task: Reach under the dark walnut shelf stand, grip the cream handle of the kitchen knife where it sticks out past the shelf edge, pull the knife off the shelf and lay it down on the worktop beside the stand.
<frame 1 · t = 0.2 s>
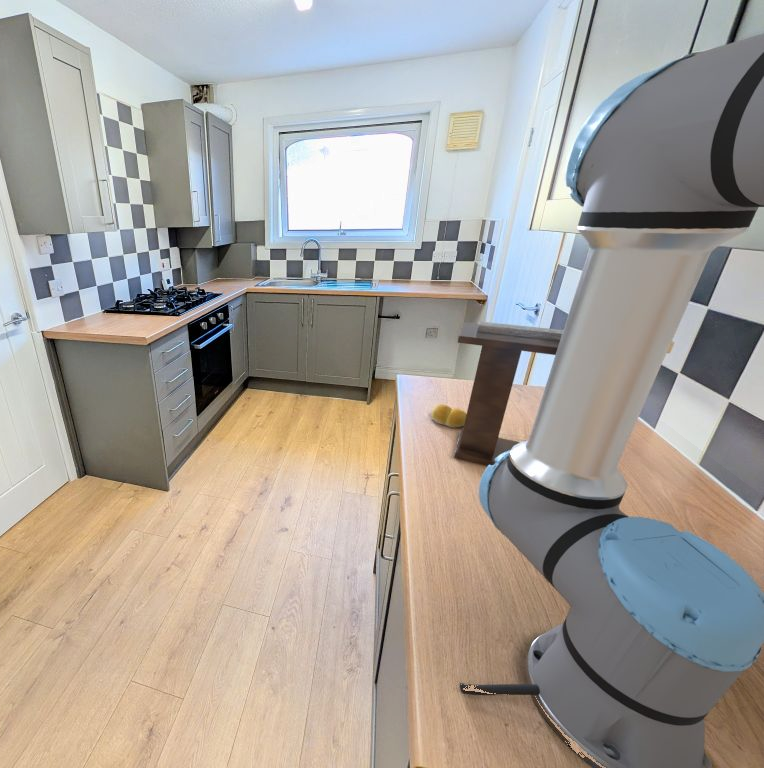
kitchen knife: (589, 342, 74), point 29 cm above the countertop, touching shelf stand
bread roll: (447, 421, 106), on the countertop
shelf stand: (489, 453, 92), on the countertop
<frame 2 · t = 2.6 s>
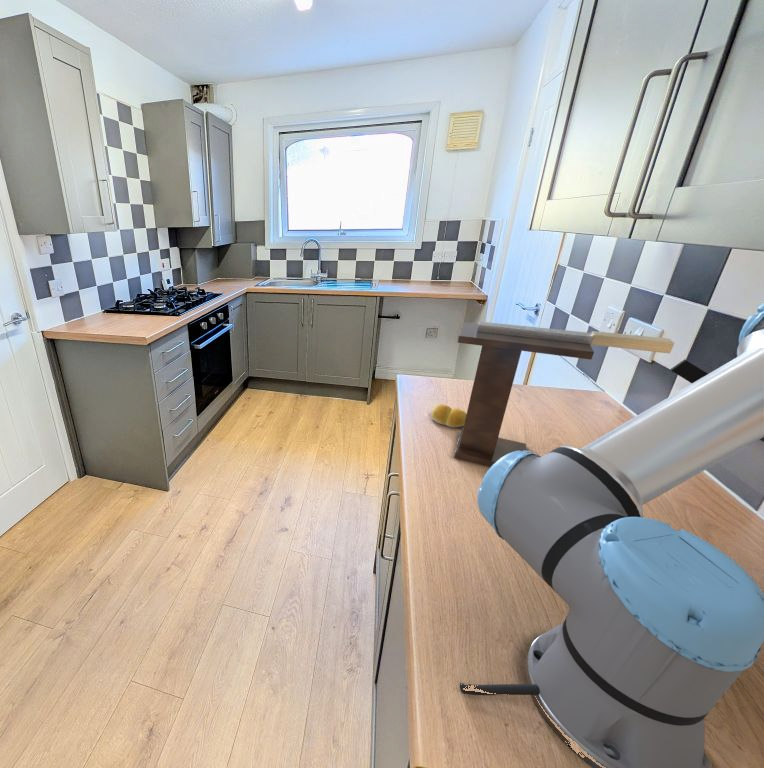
hand: (690, 377, 69), 25 cm above the countertop, tool pointing upward, fingers open, 13 cm apart
nothing on the countertop moved.
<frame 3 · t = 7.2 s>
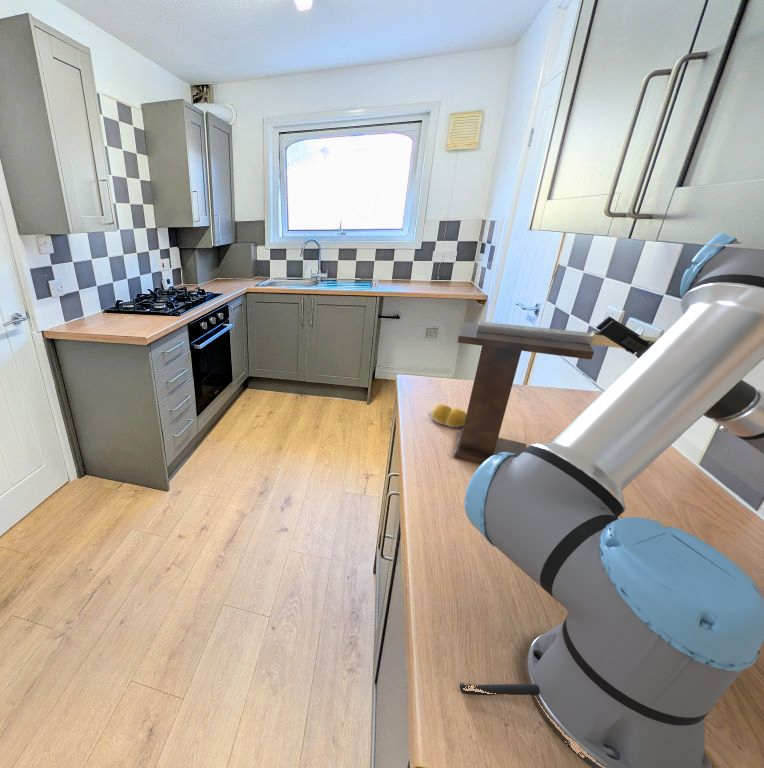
hand: (604, 324, 72), 33 cm above the countertop, tool pointing upward, fingers closed on kitchen knife, 3 cm apart
kitchen knife: (589, 342, 74), point 29 cm above the countertop, touching gripper, shelf stand
everything else where it was.
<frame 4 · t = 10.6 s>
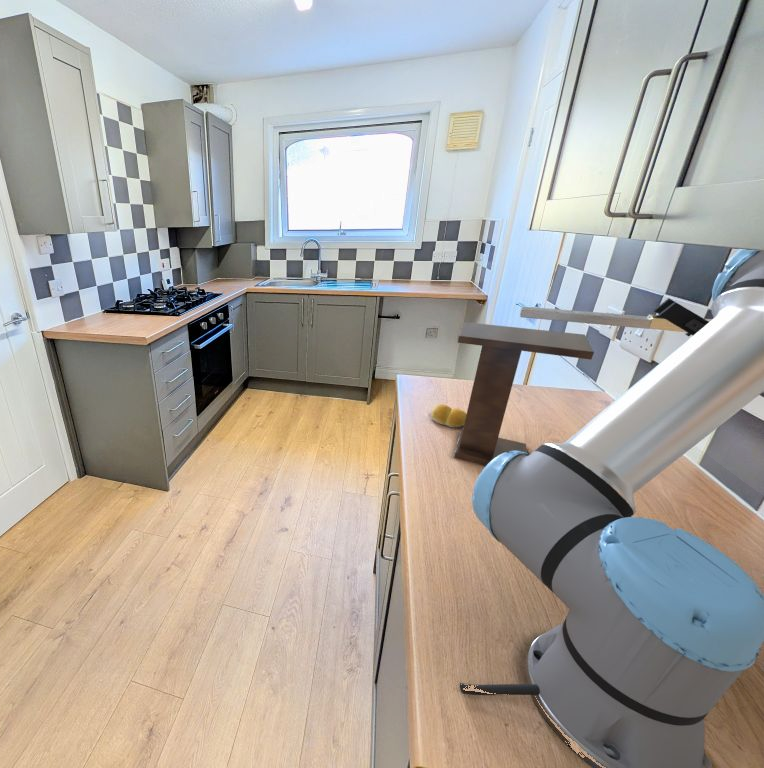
hand: (664, 306, 67), 37 cm above the countertop, tool pointing upward, fingers closed on kitchen knife, 3 cm apart
kitchen knife: (646, 326, 69), point 33 cm above the countertop, touching gripper
everything else where it was.
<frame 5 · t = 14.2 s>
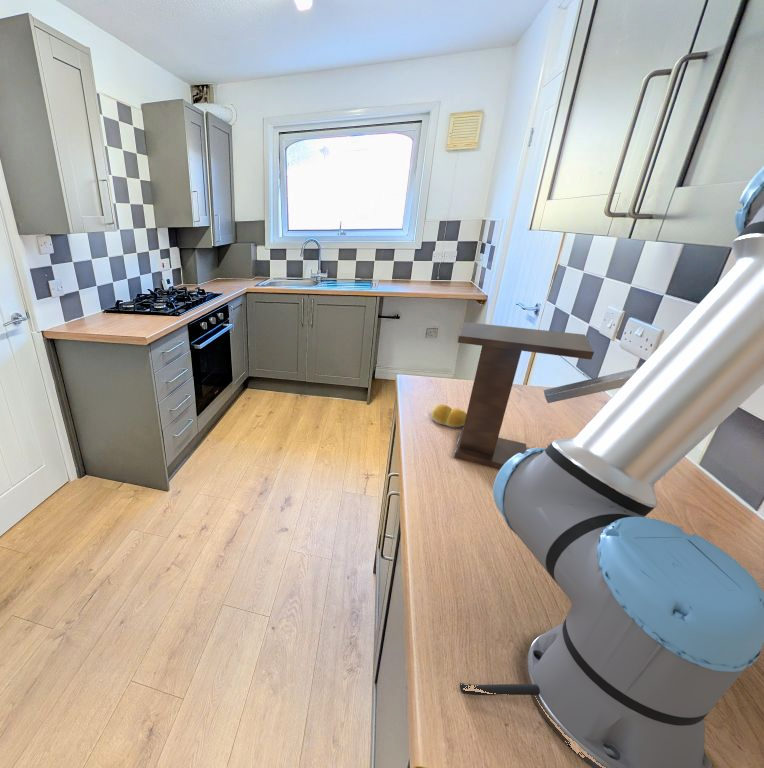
hand: (698, 343, 59), 34 cm above the countertop, tool horizontal, fingers closed on kitchen knife, 3 cm apart
kitchen knife: (693, 368, 60), point 30 cm above the countertop, tilted 30°, touching gripper
everything else where it was.
when the fingers open (13 cm above the countertop, at t = 19.6 s): kitchen knife drops 9 cm, on the countertop.
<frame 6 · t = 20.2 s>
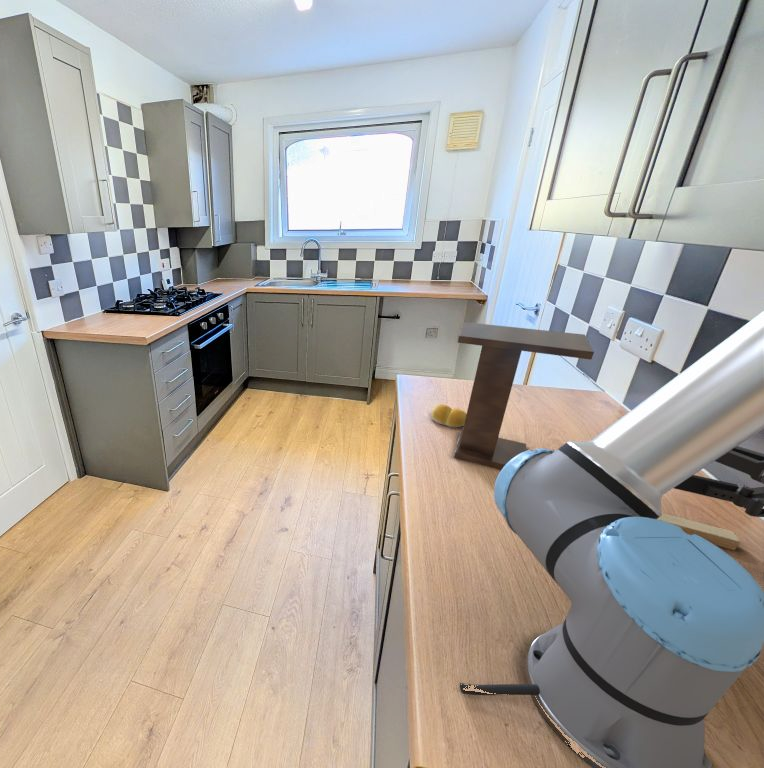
hand: (661, 458, 66), 13 cm above the countertop, tool horizontal, fingers open, 12 cm apart
kitchen knife: (644, 521, 71), on the countertop
everything else where it was.
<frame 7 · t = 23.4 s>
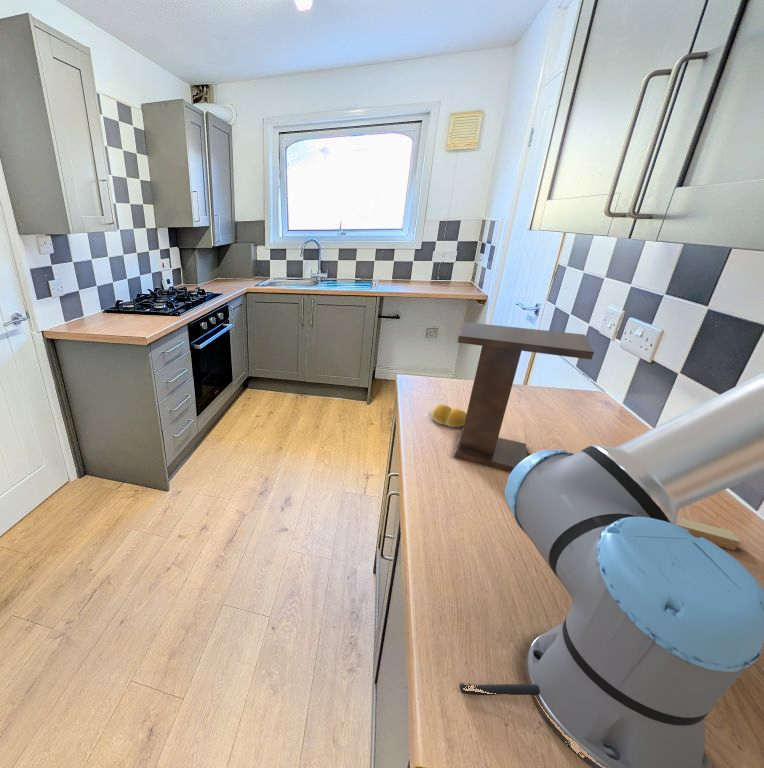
nothing on the countertop moved.
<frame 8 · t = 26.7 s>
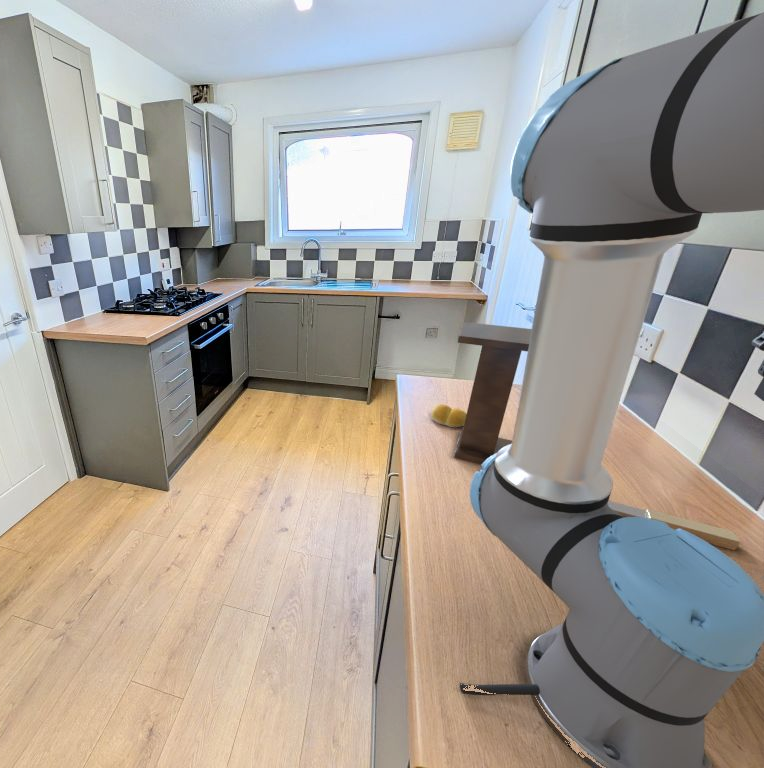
nothing on the countertop moved.
at the end: kitchen knife on the countertop; the gripper is holding nothing; kitchen knife moved 34.1 cm from its start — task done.
